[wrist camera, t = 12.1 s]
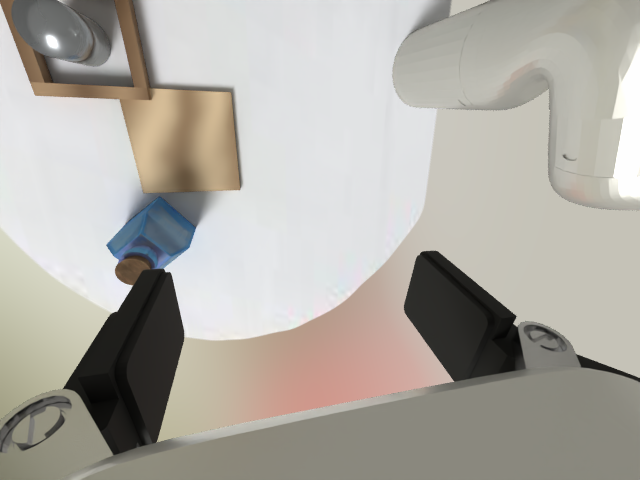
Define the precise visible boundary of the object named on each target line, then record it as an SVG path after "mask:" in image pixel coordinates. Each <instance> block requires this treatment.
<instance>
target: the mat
mask: <svg viewBox="0 0 640 480" xmlns="http://www.w3.org/2000/svg"><path fill="white" fill-rule="evenodd" d="M149 90H150V95H151V100H130V99H120V103H121V107H122V111H123V115H124V119H125V123H126V127H127V130H128V134H129V138H130V142H131V146H132V150H133V154H134V158H135V162H136V166H137V169H138V173H139V177H140V181H141V185H142V189H143V193H164V192H194V191H223V190H240V182H239V171H238V160H237V150H236V139H235V128H234V117H233V107H232V96H231V92H212V91H192V90H173V89H153V88H149Z"/></svg>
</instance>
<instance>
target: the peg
mask: <svg viewBox="0 0 640 480" xmlns="http://www.w3.org/2000/svg"><path fill="white" fill-rule="evenodd" d="M11 15H12V20H13V23H14V26H15V28H16V30H17V31H18V33H19V34H20V36H21V37H22V38H23V40H24V41H25V42H26V43H27V44H28V45H29V46H31V47H32V48H33V49H35V50H36V51H38V52H39V53H41V54H43V55H46V56H48V57H52V58H56V59H61V60H65V61H69V62H74V63H78V64H82V65H86V66H92V67H95V66H100V65H102V64H104V63H105V62H106V61H107V60H108V58H109V56H110V43H109V40H108V37H107V36H106V34H105V32H104V31H103V29H102V28H101V27H100V26H99V25H98V24H97V23H96V22H94V21H93V20H91V19H90V18H88V17H86V16H84V15H82V14H81V13H79V12H77V11H75V10H73V9H72V8H70V7H68V6H66V5H64V4H63V3H61V2H59V1H57V0H14V2H13V4H12V9H11Z"/></svg>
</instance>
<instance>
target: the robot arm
mask: <svg viewBox="0 0 640 480" xmlns="http://www.w3.org/2000/svg"><path fill="white" fill-rule="evenodd" d="M392 78H393V85H394V88H395V91H396V93H397V95H398V97H399V98H400V99H401V100H402V101H403V102H404V103H405V104H407V105H409V106H410V107H416V108H438V109H466V110H507V109H512V108H515V107H518V106H521V105H523V104H525V103H527V102H529V101H531V100H533V99H534V98H536V97H538V96H539V95H541V94H542V93H543V92H545V91H546V90H548V89H549V110H550V118H549V119H550V120H549V143H548V175H549V180H550V183H551V186H552V187H553V189H554V191H555V192H556V193H557V194H558V195H560V196H561V197H562V198H564V199H566V200H568V201H569V202H573V203H575V204H578V205H582V206H586V207H592V208H598V209H609V210H640V0H490V1H488V2H485V3H483V4H481V5H478V6H476V7H473V8H471V9H468V10H466V11H463V12H461V13H458V14H456V15H454V16H451V17H448V18H446V19H443V20H441V21H438V22H436V23H433V24H431V25H428V26H426V27H423V28H421V29H418V30H416V31H415V32H413V33H412V34H410V35H409V36H408V37H407V38H406V39H405V40H404V41H403V43H402V44H401V46H400V47H399V49H398V51H397V54H396V56H395V59H394V64H393V73H392ZM404 310H405V314H406V315H407V317H408V318H409V319H410V321H411V322H412V323H413V325H414V326H415V327H416V329H417V330H418V332H419V333H420V334H421V336H422V337H423V339H424V340H425V342H426V343H427V344H428V346H429V347H430V348H431V350H432V351H433V353H434V354H435V355H436V357H437V358H438V360H439V361H440V362H441V364H442V365H443V367H444V368H445V369H446V371H447V372H448V373H449V375H450V376H451V378H452V379H453V380H454V381H455V382H451V383H445V384H441V385H435V386H430V387H424V388H420V389H414V390H409V391H404V392H398V393H393V394H388V395H383V396H378V397H372V398H368V399H362V400H357V401H352V402H347V403H342V404H337V405H331V406H326V407H322V408H316V409H311V410H307V411H302V412H296V413H292V414H286V415H281V416H276V417H272V418H267V419H262V420H257V421H252V422H247V423H241V424H237V425H232V426H227V427H223V428H218V429H214V430H209V431H204V432H200V433H196V434H191V435H186V436H182V437H177V438H172V439H169V440H165V441H161V442H157V439H158V436H159V432H160V429H161V425H162V421H163V417H164V414H165V410H166V406H167V402H168V399H169V395H170V391H171V387H172V383H173V380H174V376H175V372H176V368H177V365H178V360H179V357H180V353H181V349H182V346H183V342H184V329H183V324H182V320H181V315H180V311H179V306H178V302H177V297H176V292H175V288H174V283H173V279H172V275H171V273H170V272H165V270H164V269H163V268H162V269H146V270H143V271H142V272H141V274H140V276H139V277H138V279H137V280H136V282H135V284H134V285H133V287H132V289H131V290H130V292H129V294H128V295H127V297H126V298H125V300H124V302H123V303H122V305H121V307H120V308H119V310H118V312H114V313H112V314H111V315H110V316H109V317H108V319H107V320H106V322H105V323H104V325H103V327H102V328H101V330H100V331H99V333H98V335H97V336H96V338H95V339H94V341H93V342H92V344H91V346H90V347H89V349H88V351H87V352H86V353H85V355H84V357H83V358H82V360H81V361H80V363H79V364H78V366H77V367H76V369H75V371H74V372H73V374H72V375H71V377H70V378H69V380H68V382H67V383H66V385H65V386H64V388H63V389H60V390H53V391H49V392H46V393H42V394H40V395H38V396H35V397H33V398H31V399H29V400H27V401H25V402H24V403H22V404H21V405H19V406H18V407H16V408H14V409H13V410H12V411H10V412H9V413H8V414H7V415H6V416H5V417H3V418H2V419H1V420H0V480H640V378H638V377H636V376H633V375H630V374H628V373H625V372H623V371H620V370H617V369H614V368H612V367H609V366H607V365H604V364H601V363H598V362H596V361H593V360H590V359H588V358H585V357H583V356H580V355H577V354H576V353H575V351H574V349H573V346H572V345H571V343H570V342H569V341H568V340H567V339H566V338H565V337H564V336H563V335H561V334H560V333H559V332H557V331H556V330H554V329H552V328H550V327H548V326H545V325H543V324H540V323H536V322H529V321H525V322H521V323H520V324H519V325H518V327H516V326H515V325H514V324H513V323H514V321H515V319H516V315H514V314H513V313H512V312H511V311H510V310H508V309H507V308H506V307H505V306H503V305H502V304H501V303H500V302H499V301H497V300H496V299H495V298H494V297H493V296H491V295H490V294H489V293H488V292H487V291H485V290H484V289H483V288H482V287H480V286H479V285H478V284H477V283H476V282H474V281H473V280H472V279H471V278H469V277H468V276H467V275H466V274H465V273H463V272H462V271H461V270H460V269H458V268H457V267H456V266H455V265H454V264H452V263H451V262H450V261H449V260H447V259H446V258H445V257H444V256H443V255H441V254H440V253H439V252H438V251H424V252H421V253H420V255H419V256H417V258H416V261H415V265H414V270H413V273H412V277H411V281H410V285H409V289H408V292H407V296H406V300H405V304H404ZM156 442H157V443H156Z"/></svg>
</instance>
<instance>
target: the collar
mask: <svg viewBox="0 0 640 480" xmlns="http://www.w3.org/2000/svg"><path fill="white" fill-rule="evenodd" d="M13 2H14V0H0V4H1V6H2V9H3V12H4V14H5V17H6V20H7V22H8V25H9V28H10V30H11V33H12V35H13V38H14V41H15V43H16V46H17V49H18V51H19V54H20V57H21V59H22V62H23V65H24V67H25V70H26V73H27V75H28V78H29V81H30V83H31V86H32V89H33V91H34V94H35V96H57V97H81V98H106V99H130V100H151V95H150V90H149V88H150V83H149V79H148V74H147V69H146V64H145V59H144V55H143V50H142V45H141V40H140V35H139V31H138V26H137V21H136V16H135V11H134V7H133V2H132V0H114V2H115V6H116V10H117V15H118V19H119V23H120V28H121V32H122V36H123V41H124V45H125V49H126V54H127V58H128V62H129V67H130V71H131V75H132V80H133V84H134V87H118V86H98V85H78V84H59V83H53V81H52V78H51V75H50V73H49V70H48V67H47V64H46V61H45V58H44V55H43V54H41V53H39V52H38V51H36V50H35V49H33V48H32V47H31V46H29V45H28V44H27V43H26V42H25V41H24V40H23V38H22V37H21V36H20V34H19V33H18V31H17V30H16V28H15V26H14V23H13V20H12V15H11V9H12V4H13Z"/></svg>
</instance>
